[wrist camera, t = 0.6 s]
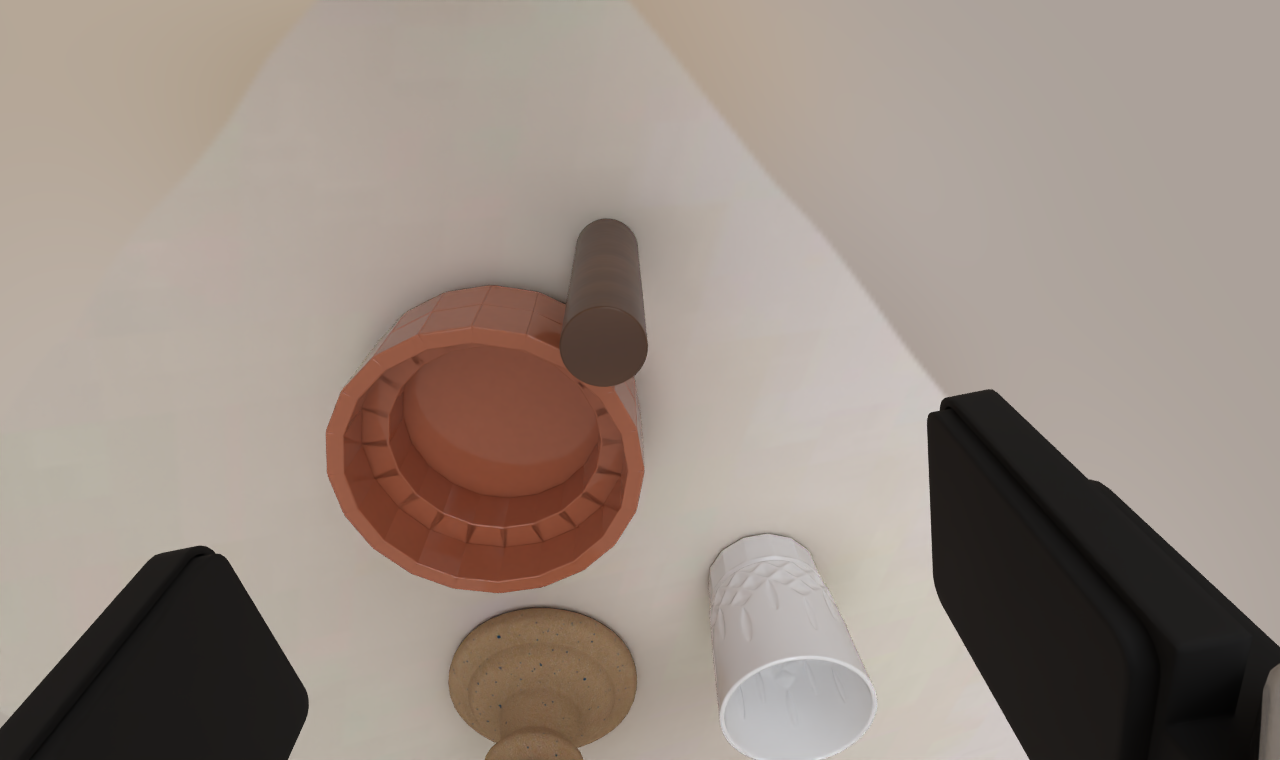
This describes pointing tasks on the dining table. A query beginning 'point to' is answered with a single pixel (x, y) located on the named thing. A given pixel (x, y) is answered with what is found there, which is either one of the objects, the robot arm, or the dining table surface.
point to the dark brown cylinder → (604, 307)
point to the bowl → (484, 446)
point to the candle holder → (542, 683)
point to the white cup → (783, 655)
